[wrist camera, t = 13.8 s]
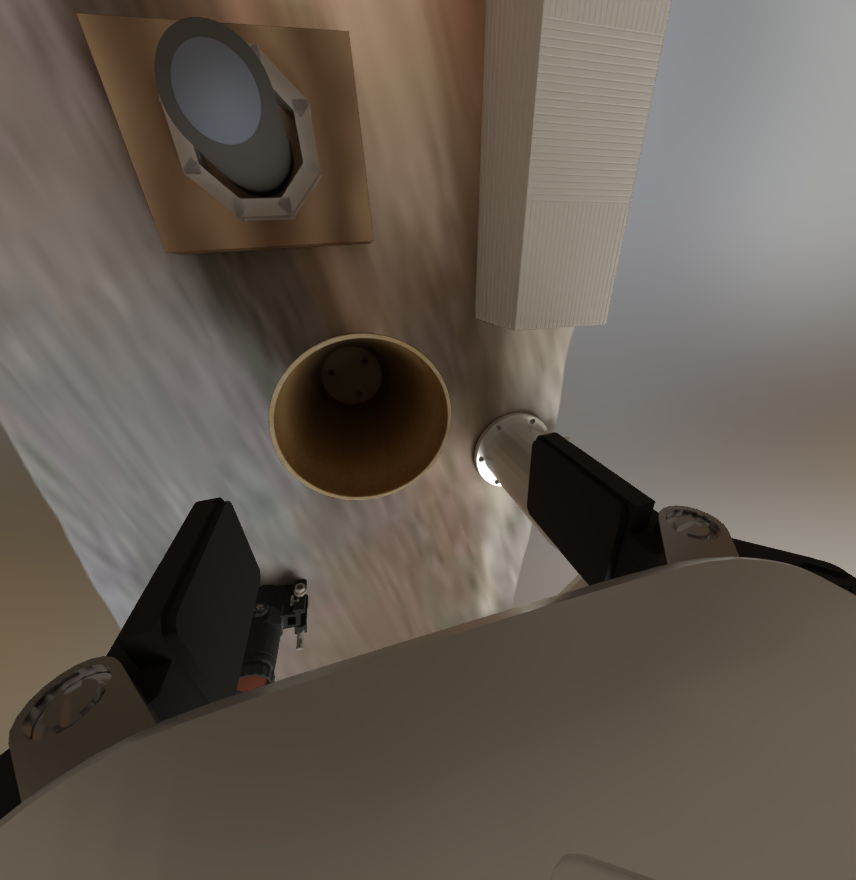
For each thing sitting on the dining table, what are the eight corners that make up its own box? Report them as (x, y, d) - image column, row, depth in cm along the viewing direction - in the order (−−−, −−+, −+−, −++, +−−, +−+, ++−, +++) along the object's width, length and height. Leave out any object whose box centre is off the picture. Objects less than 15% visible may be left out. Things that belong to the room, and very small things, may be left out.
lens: (283, 104, 27) (258, 18, 18) (300, 195, 30) (287, 160, 21) (200, 102, 26) (131, 10, 17) (227, 197, 28) (179, 161, 19)
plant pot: (315, 444, 44) (309, 522, 30) (268, 329, 37) (232, 363, 23) (422, 412, 46) (463, 472, 32) (397, 298, 39) (435, 312, 25)
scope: (303, 697, 44) (217, 715, 42) (309, 606, 56) (242, 616, 54) (301, 658, 41) (207, 675, 38) (307, 571, 53) (236, 579, 50)
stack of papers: (548, 313, 45) (606, 323, 36) (474, 318, 43) (514, 330, 33) (596, -60, 31) (714, -206, 21) (488, -84, 28) (566, -260, 19)
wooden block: (346, 59, 30) (350, 9, 24) (369, 243, 36) (377, 238, 30) (110, 47, 26) (49, -15, 20) (183, 254, 32) (152, 250, 27)
